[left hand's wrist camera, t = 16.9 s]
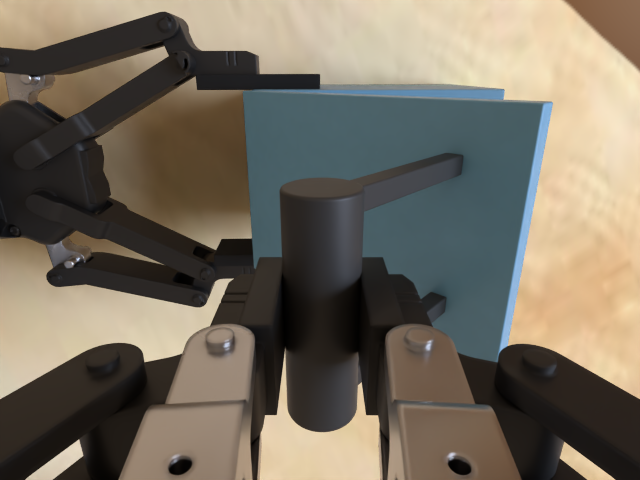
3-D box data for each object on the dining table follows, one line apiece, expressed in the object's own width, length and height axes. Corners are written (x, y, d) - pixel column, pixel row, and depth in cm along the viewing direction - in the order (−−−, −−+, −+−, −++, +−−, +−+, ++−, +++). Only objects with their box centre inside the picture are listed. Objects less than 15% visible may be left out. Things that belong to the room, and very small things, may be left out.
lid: (553, 101, 13) (399, 128, 7) (504, 362, 17) (373, 530, 11) (256, 90, 22) (72, 97, 16) (265, 263, 25) (118, 324, 19)
